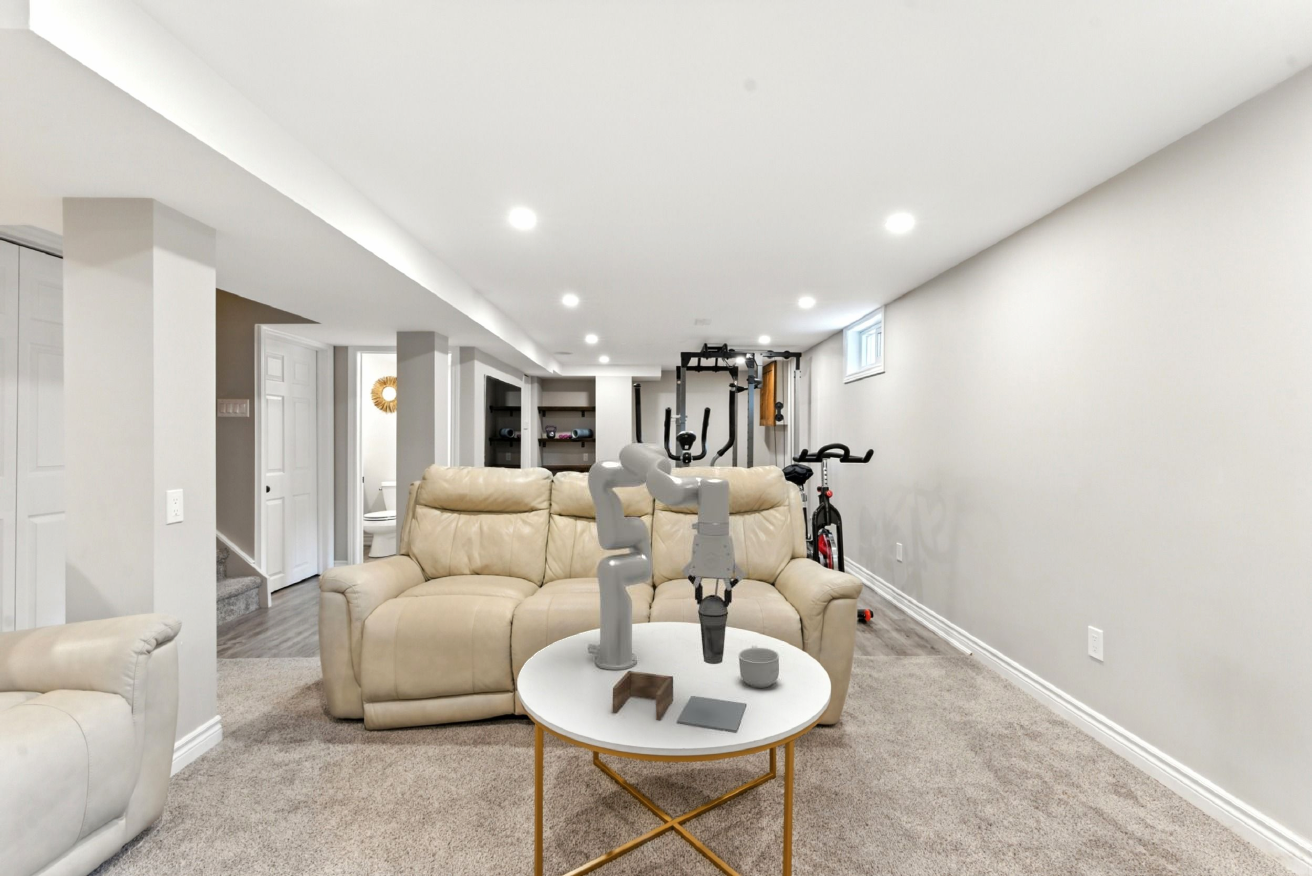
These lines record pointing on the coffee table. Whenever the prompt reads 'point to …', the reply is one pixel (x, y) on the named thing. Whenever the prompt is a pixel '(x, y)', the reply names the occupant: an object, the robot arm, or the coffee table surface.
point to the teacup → (759, 666)
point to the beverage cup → (713, 627)
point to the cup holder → (644, 690)
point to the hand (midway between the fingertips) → (713, 603)
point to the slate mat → (712, 713)
